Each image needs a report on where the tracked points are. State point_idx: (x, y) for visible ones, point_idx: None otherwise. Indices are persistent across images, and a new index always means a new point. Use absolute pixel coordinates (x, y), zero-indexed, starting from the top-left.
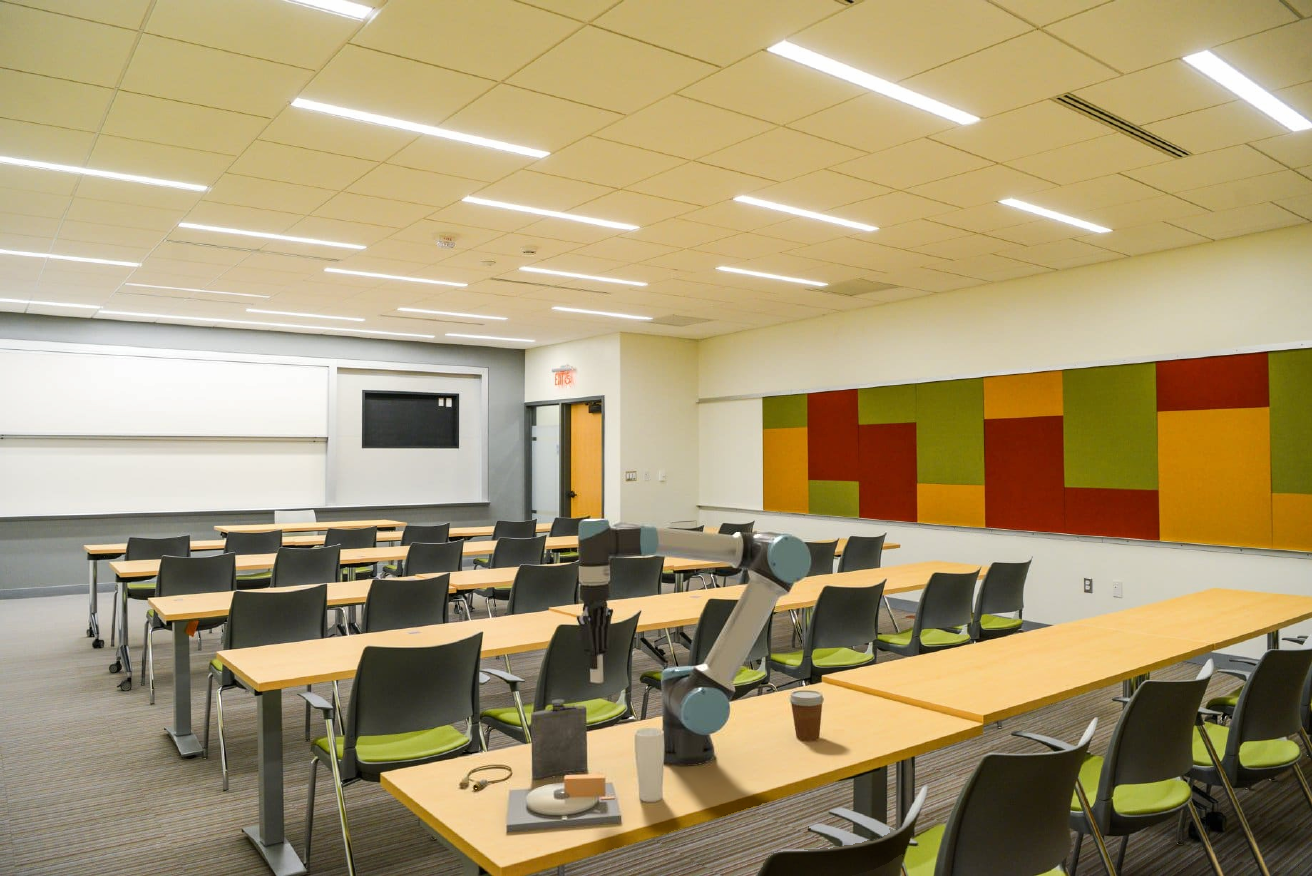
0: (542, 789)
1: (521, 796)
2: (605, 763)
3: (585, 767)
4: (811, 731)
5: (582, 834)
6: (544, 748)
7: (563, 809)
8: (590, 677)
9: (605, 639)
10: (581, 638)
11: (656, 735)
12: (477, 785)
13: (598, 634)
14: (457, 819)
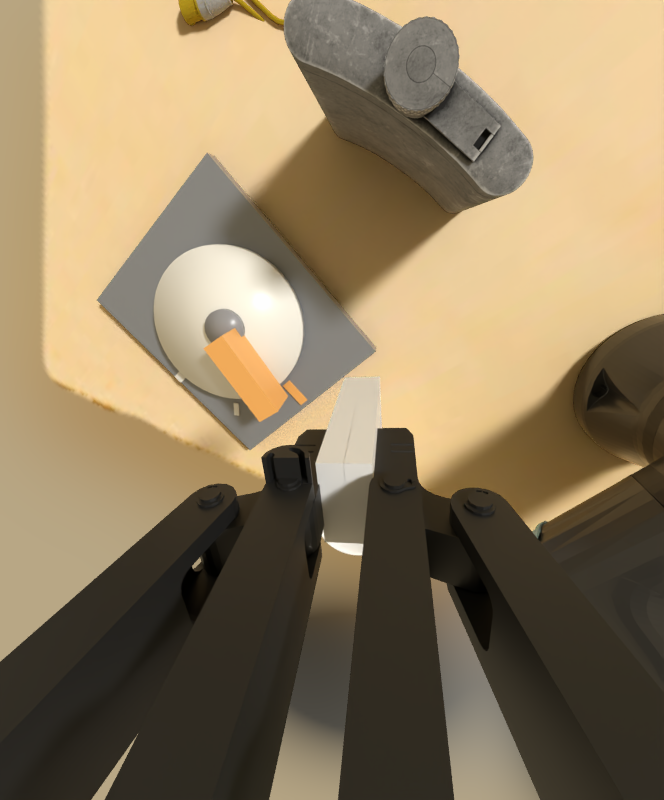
0: (223, 262)
1: (200, 216)
2: (535, 220)
3: (451, 212)
4: None
5: (185, 414)
6: (344, 119)
7: (180, 372)
8: (340, 389)
9: (481, 656)
10: (50, 619)
11: (338, 550)
12: (183, 14)
13: (276, 761)
14: (67, 150)
